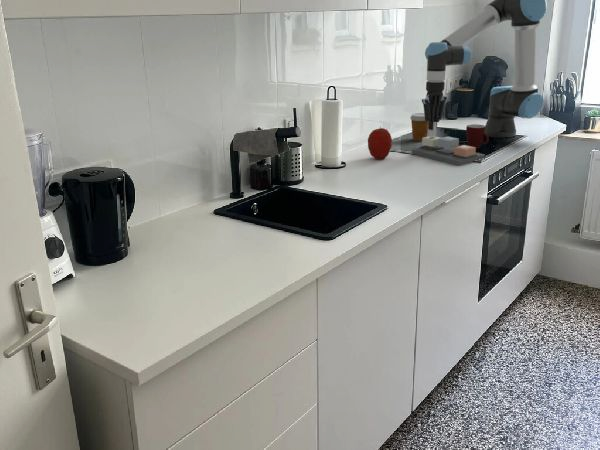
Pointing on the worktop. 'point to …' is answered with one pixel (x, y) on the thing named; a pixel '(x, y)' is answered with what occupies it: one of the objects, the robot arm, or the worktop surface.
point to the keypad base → (445, 155)
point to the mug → (476, 135)
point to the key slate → (448, 142)
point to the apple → (379, 143)
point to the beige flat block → (464, 150)
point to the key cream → (430, 141)
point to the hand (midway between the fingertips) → (432, 136)
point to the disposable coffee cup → (419, 126)
